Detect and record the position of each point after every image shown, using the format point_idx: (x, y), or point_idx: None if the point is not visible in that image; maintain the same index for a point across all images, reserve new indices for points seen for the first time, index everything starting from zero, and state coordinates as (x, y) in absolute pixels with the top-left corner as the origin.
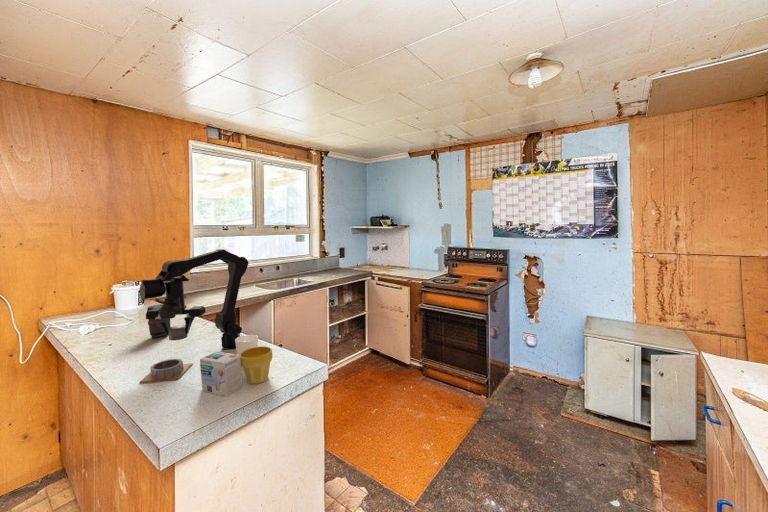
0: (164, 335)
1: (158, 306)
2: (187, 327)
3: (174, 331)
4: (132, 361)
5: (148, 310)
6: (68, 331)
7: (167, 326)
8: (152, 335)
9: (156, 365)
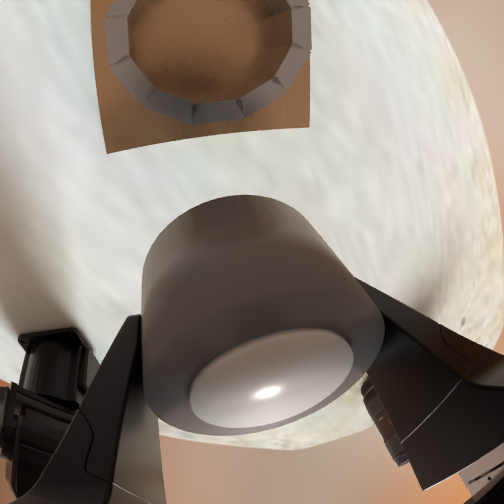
0: (369, 385)
1: None
2: (96, 391)
3: (261, 273)
4: (422, 221)
5: None
6: (492, 347)
7: (407, 357)
8: None
9: (289, 42)
